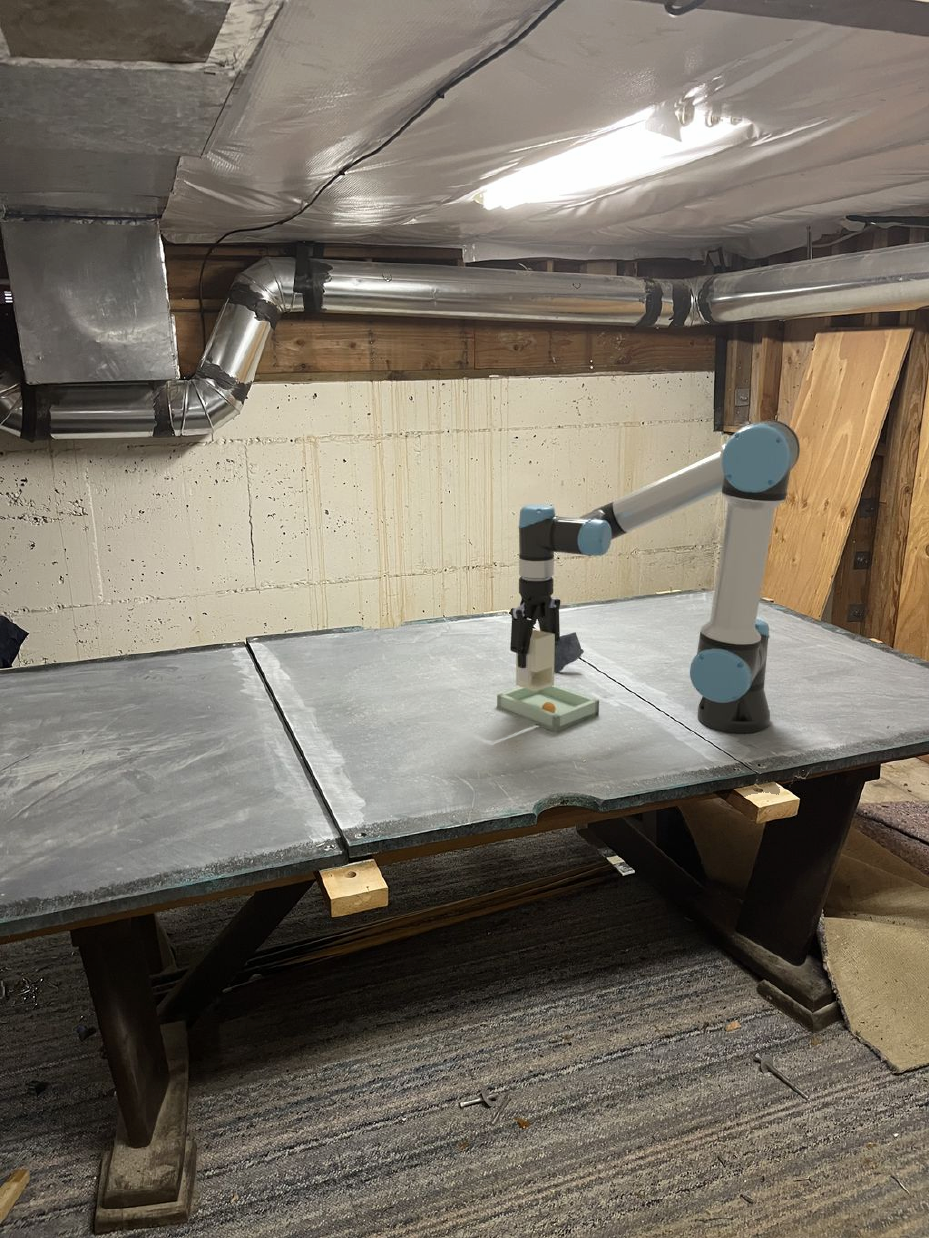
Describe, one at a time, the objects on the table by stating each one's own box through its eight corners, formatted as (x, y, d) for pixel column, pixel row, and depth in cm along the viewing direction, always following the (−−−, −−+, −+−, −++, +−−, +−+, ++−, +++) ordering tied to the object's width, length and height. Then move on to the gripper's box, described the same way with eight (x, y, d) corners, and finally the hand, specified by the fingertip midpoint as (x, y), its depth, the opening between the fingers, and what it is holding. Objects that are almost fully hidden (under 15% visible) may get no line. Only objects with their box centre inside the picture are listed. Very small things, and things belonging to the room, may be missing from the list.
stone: (535, 679, 222) (536, 640, 219) (524, 671, 227) (525, 633, 224) (584, 671, 227) (585, 633, 224) (573, 663, 232) (573, 627, 229)
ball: (552, 710, 199) (559, 703, 197) (549, 720, 197) (556, 713, 195) (541, 704, 199) (547, 697, 196) (538, 714, 196) (544, 707, 194)
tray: (598, 714, 199) (599, 700, 198) (556, 732, 191) (556, 717, 190) (539, 693, 212) (539, 679, 211) (497, 709, 203) (497, 694, 202)
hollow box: (553, 685, 201) (554, 634, 198) (535, 691, 197) (535, 639, 194) (534, 678, 205) (535, 628, 202) (516, 684, 201) (516, 633, 198)
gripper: (553, 566, 203) (551, 663, 209) (492, 581, 191) (492, 683, 197) (578, 572, 197) (576, 671, 204) (517, 587, 185) (517, 692, 192)
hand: (535, 676), depth 201 cm, fingers closed on hollow box, 6 cm apart
